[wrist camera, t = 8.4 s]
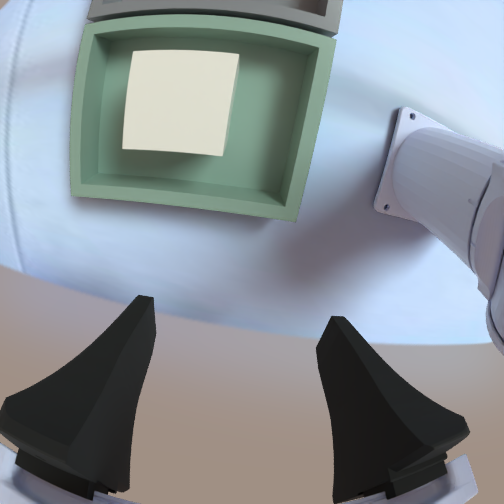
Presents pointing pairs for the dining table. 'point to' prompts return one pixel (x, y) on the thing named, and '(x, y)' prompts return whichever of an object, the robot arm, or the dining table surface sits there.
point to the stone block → (180, 101)
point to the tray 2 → (241, 125)
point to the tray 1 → (231, 11)
